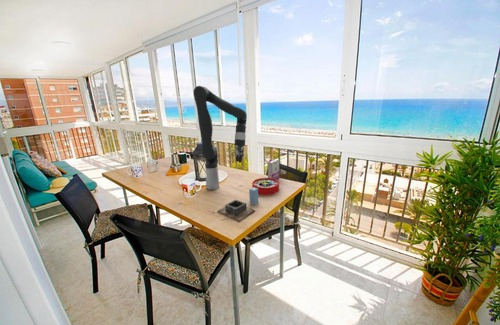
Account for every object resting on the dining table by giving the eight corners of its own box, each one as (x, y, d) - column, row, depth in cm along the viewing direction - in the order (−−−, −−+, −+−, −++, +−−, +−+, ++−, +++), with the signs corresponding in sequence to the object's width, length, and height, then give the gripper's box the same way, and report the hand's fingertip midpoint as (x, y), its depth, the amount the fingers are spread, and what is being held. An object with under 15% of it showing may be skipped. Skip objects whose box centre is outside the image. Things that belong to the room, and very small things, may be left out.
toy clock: (254, 177, 158) (279, 178, 154) (254, 184, 160) (279, 185, 156) (249, 187, 140) (278, 188, 136) (250, 194, 141) (278, 196, 137)
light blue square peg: (249, 203, 128) (249, 189, 125) (253, 201, 131) (252, 187, 128) (254, 205, 126) (254, 190, 123) (258, 202, 129) (257, 188, 126)
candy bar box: (274, 176, 174) (274, 158, 169) (279, 177, 171) (279, 159, 166) (267, 180, 166) (267, 161, 161) (272, 181, 163) (272, 162, 158)
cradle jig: (217, 211, 119) (216, 204, 118) (233, 203, 129) (233, 196, 128) (239, 221, 108) (238, 213, 107) (255, 211, 118) (254, 203, 117)
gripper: (232, 138, 144) (231, 160, 146) (237, 138, 131) (235, 162, 132) (242, 139, 147) (241, 161, 148) (248, 139, 133) (246, 163, 134)
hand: (238, 161), depth 140 cm, fingers open, 8 cm apart
